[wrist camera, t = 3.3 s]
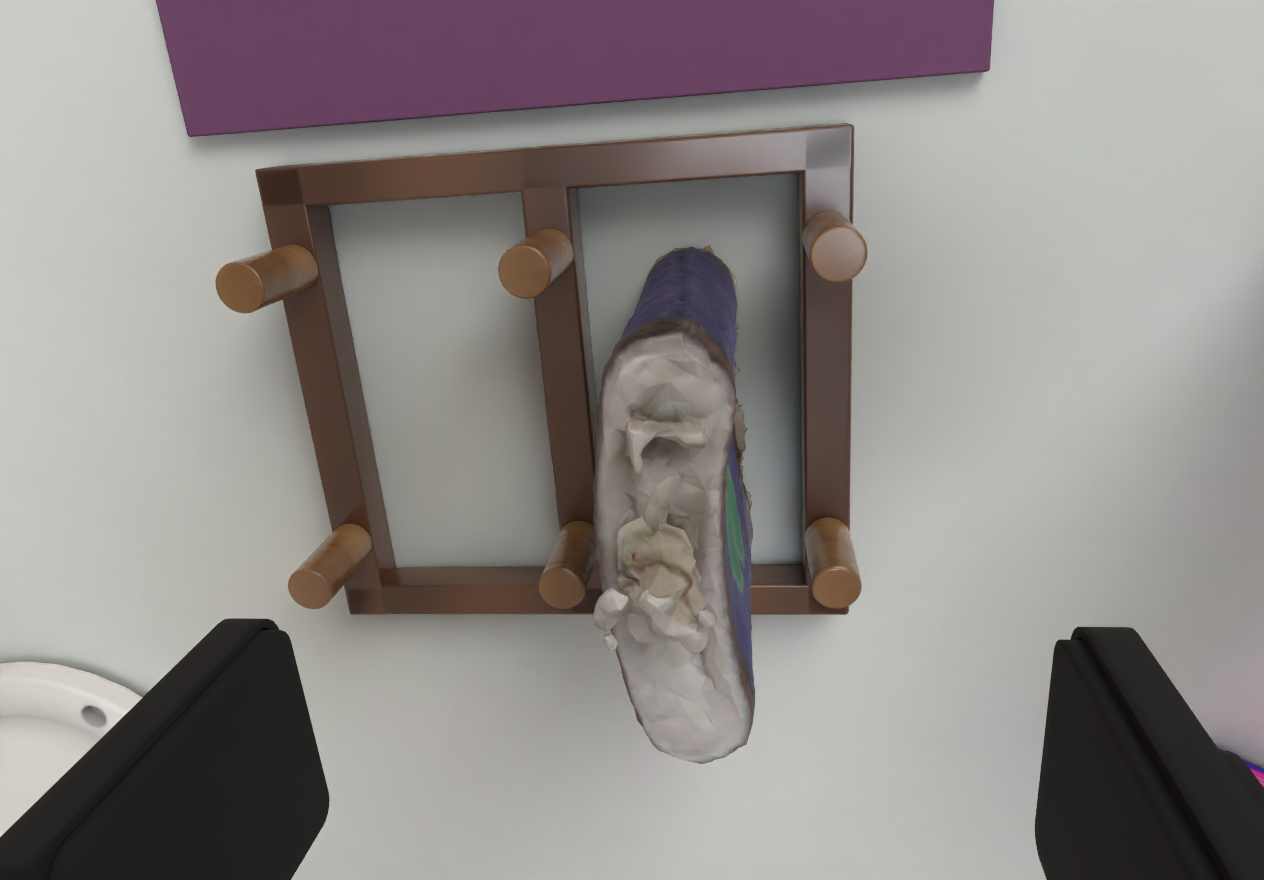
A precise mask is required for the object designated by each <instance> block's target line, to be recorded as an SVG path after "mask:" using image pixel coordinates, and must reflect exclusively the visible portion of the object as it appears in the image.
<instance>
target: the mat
mask: <svg viewBox="0 0 1264 880" xmlns="http://www.w3.org/2000/svg"><path fill="white" fill-rule="evenodd" d="M156 3H157V7H158V11H159V16H160V20H161V24H162V28H163V33H164V37H165V41H166V45H167V50H168V54H169V58H170V62H171V66H172V71H173V75H174V79H175V83H176V88H177V92H178V96H179V100H180V104H181V109H182V113H183V117H184V121H185V126H186V130H187V134H188V136H189V137H195V136H207V135H220V134H232V133H244V132H256V131H268V130H280V129H293V128H305V127H317V126H329V125H341V124H353V123H366V122H378V121H390V120H402V119H414V118H426V117H439V116H451V115H463V114H475V113H487V112H500V111H512V110H524V109H536V108H548V107H560V106H573V105H585V104H597V103H609V102H621V101H633V100H646V99H658V98H670V97H682V96H694V95H706V94H719V93H731V92H743V91H755V90H767V89H779V88H792V87H804V86H816V85H828V84H840V83H852V82H865V81H877V80H889V79H901V78H913V77H925V76H938V75H950V74H962V73H974V72H986V71H989V69H990V56H991V40H992V23H993V6H994V0H156Z"/></svg>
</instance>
